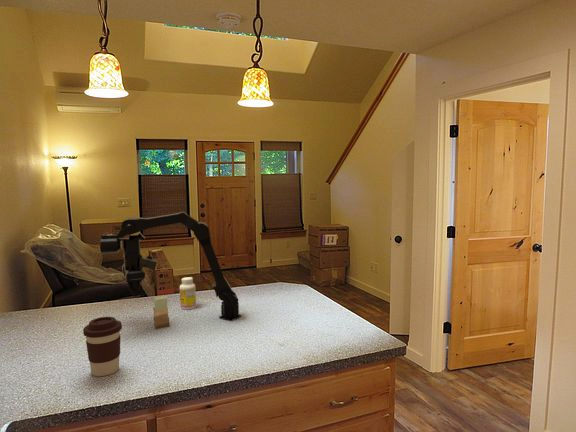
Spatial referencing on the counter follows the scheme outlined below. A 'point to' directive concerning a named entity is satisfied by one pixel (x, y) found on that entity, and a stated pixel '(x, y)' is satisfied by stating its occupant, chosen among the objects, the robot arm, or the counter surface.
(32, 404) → the counter surface
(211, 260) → the robot arm
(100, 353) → the coffee cup
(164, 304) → the sage block
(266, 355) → the counter surface
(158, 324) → the walnut base
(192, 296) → the supplement bottle
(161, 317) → the oak block
